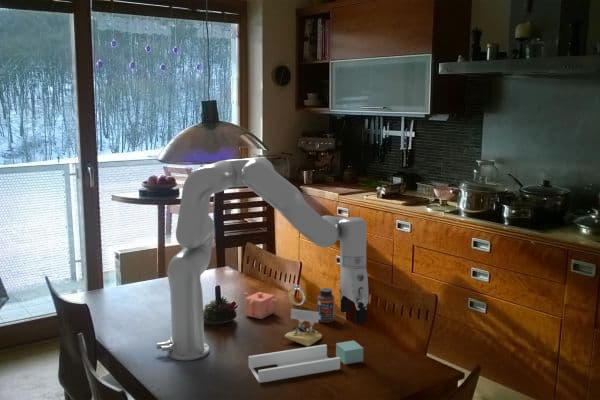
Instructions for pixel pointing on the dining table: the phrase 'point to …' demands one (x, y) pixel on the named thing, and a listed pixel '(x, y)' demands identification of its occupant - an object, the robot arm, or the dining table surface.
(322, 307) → the supplement bottle
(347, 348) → the green block
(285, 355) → the trough
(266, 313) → the pink cube
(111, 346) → the dining table surface
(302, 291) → the ring
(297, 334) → the figurine with sign
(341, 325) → the dining table surface
